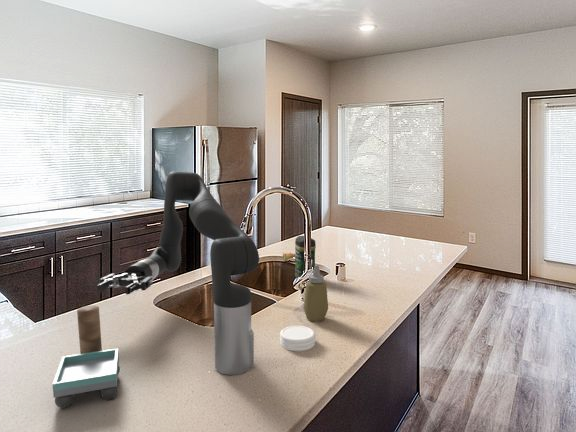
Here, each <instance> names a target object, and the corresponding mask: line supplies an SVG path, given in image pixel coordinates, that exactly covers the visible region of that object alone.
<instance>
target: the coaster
mask: <svg viewBox="0 0 576 432" xmlns="http://www.w3.org/2000/svg"><path fill="white" fill-rule="evenodd" d="M279 335H280V337H279V338H280V340H279V343H280V346H281V347H282V348H284V349H285V350H287V351H293V352H305V351H309V350H311V349H313V348H314V347H315V345H316V333H315V330H313V329H312V328H310V327H308V326H305V325H304V326H303V325H290V326H287V327H284V328H283V329H281V330H280V333H279Z"/></svg>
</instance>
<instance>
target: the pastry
mask: <svg viewBox="0 0 576 432" xmlns="http://www.w3.org/2000/svg"><path fill="white" fill-rule="evenodd" d="M282 256H283V257H284V260H282V261H284V262H285V261H287V260H288V259H289V258H293V257H295V253H291V252H286V253H285V252H284V253H282ZM282 256H281V257H282Z"/></svg>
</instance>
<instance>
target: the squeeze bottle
mask: <svg viewBox="0 0 576 432" xmlns="http://www.w3.org/2000/svg"><path fill="white" fill-rule="evenodd" d="M319 266H320V265H318V264H315V267H314V271H313V275H310V276H309V282H306V285H305V292H304V298H303V300H304V302H303V311H304V315H305V317H306V319H307V320H309V322H310V321H311V322H316V323H317V322H322V321H324V320H325V319H326V315H327V313H328V310H329V303H328V302H329V301H328V300H329V299H328V290H327V289H328V287H327V283H326V282H324V278H325V277H324V275H322V274H321V271H320V267H319Z"/></svg>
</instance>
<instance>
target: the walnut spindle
mask: <svg viewBox="0 0 576 432" xmlns="http://www.w3.org/2000/svg"><path fill="white" fill-rule="evenodd" d="M76 313H77V327H78V328H77V329H78V338H79V352H80V353H79V354H83V353H90V352H97V351H103V348H102V347H103V346H102V335H101V334H102V333H101V332H102V331H101V319H100V307H99V306H98V305H85V306H82V307H80V308H77V310H76Z"/></svg>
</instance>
